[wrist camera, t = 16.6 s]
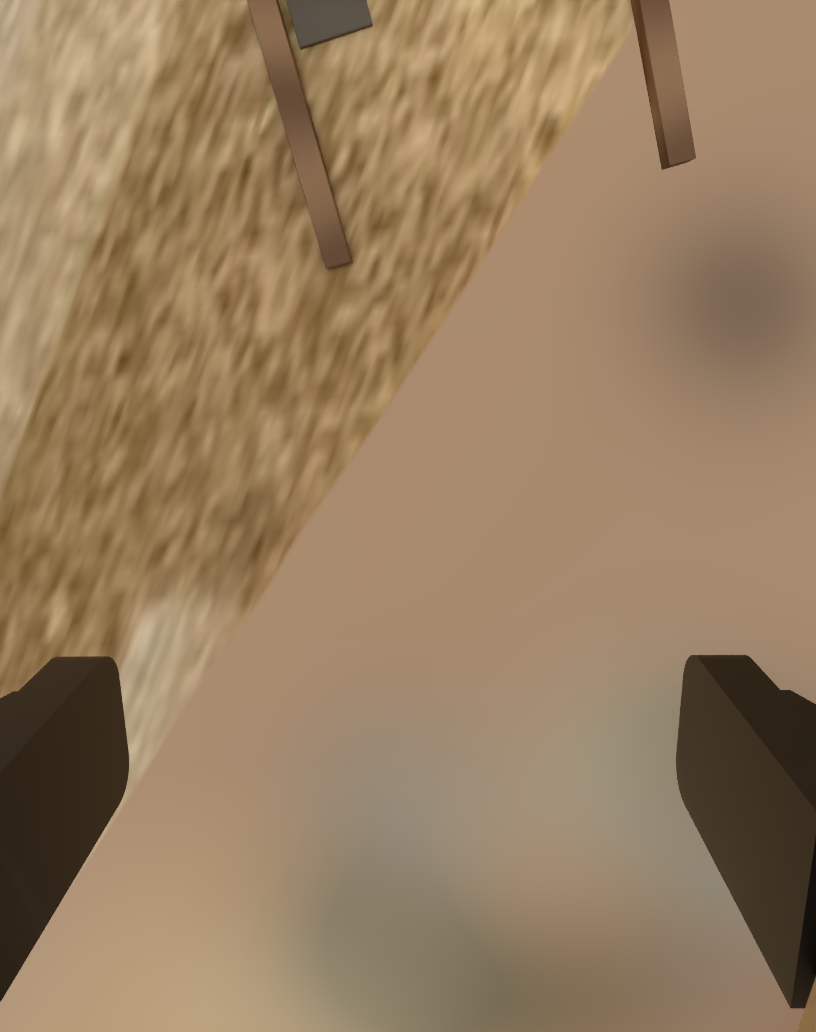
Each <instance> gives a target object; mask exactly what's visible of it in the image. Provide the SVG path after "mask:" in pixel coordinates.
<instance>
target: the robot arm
mask: <svg viewBox="0 0 816 1032" xmlns="http://www.w3.org/2000/svg"><path fill="white" fill-rule="evenodd" d="M676 770H677V779H678V785H679V789H680V793H681V797H682V800H683V802H684V804H685V806H686V808H687V810H688V812H689V814H690V816H691V818H692V820H693V822H694V824H695V826H696V827H697V829H698V831H699V833H700V835H701V837H702V839H703V841H704V843H705V845H706V847H707V849H708V851H709V852H710V854H711V856H712V858H713V860H714V862H715V864H716V866H717V868H718V870H719V872H720V873H721V876H722V877H723V879H724V881H725V883H726V885H727V887H728V888H729V891H730V893H731V895H732V896H733V898H734V900H735V902H736V904H737V906H738V908H739V910H740V912H741V914H742V916H743V918H744V920H745V922H746V923H747V925H748V927H749V929H750V931H751V933H752V935H753V937H754V939H755V941H756V943H757V945H758V946H759V948H760V950H761V952H762V954H763V956H764V958H765V960H766V962H767V964H768V966H769V967H770V970H771V972H772V973H773V975H774V977H775V979H776V981H777V983H778V985H779V987H780V989H781V991H782V993H783V994H784V997H785V998H786V1000H787V1002H788V1004H789V1006H790V1008H805V1010H804V1013H803V1016H802V1019H801V1022H800V1024H799V1027H798V1031H797V1032H816V704H814V703H812V702H810V701H809V700H807V699H805V698H803V697H802V696H800V695H798V694H796V693H794V692H793V691H791V690H780V689H779V688H778V687H777V686H776V685H775V684H774V683H773V682H772V680H771V679H770V678H769V677H768V676H767V675H766V674H765V673H764V672H763V671H762V670H761V669H760V667H759V666H758V665H757V664H756V663H755V662H754V661H753V660H752V659H751V658H750V657H749V656H747V655H691V656H690V657H689V658H688V660H687V661H686V665H685V668H684V674H683V686H682V696H681V707H680V719H679V730H678V742H677V753H676ZM128 772H129V753H128V744H127V736H126V728H125V720H124V711H123V703H122V695H121V687H120V679H119V672H118V668H117V665H116V663H115V661H114V660H113V659H112V658H111V657H55V658H53V659H51V660H50V661H49V662H48V663H47V664H46V665H45V666H44V667H43V668H42V669H41V670H40V671H39V672H38V673H37V674H36V675H35V676H34V677H33V678H32V679H30V680H29V681H28V682H27V683H26V684H25V685H24V686H23V687H22V688H21V689H20V690H19V691H13V692H12V693H10V694H8V695H6V696H4V697H2V698H0V1001H1V1000H2V999H3V997H4V995H5V994H6V992H7V990H8V988H9V987H10V985H11V984H12V982H13V980H14V979H15V977H16V975H17V974H18V972H19V970H20V969H21V967H22V965H23V964H24V962H25V960H26V959H27V957H28V955H29V954H30V952H31V950H32V949H33V947H34V945H35V944H36V942H37V940H38V939H39V937H40V935H41V934H42V932H43V930H44V929H45V927H46V925H47V924H48V922H49V920H50V919H51V917H52V915H53V914H54V912H55V910H56V909H57V907H58V905H59V904H60V902H61V900H62V899H63V897H64V895H65V894H66V892H67V890H68V889H69V887H70V885H71V884H72V882H73V880H74V879H75V877H76V876H77V874H78V872H79V871H80V869H81V867H82V866H83V864H84V862H85V861H86V859H87V857H88V856H89V854H90V852H91V851H92V849H93V847H94V846H95V844H96V842H97V841H98V839H99V837H100V836H101V834H102V832H103V831H104V829H105V827H106V826H107V824H108V822H109V821H110V819H111V817H112V816H113V814H114V812H115V811H116V809H117V807H118V806H119V804H120V802H121V800H122V798H123V795H124V792H125V789H126V785H127V780H128Z"/></svg>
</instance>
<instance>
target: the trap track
mask: <svg viewBox="0 0 816 1032" xmlns="http://www.w3.org/2000/svg"><path fill="white" fill-rule="evenodd" d="M247 1H248V4H249V8H250V11H251V15H252V18H253V21H254V25H255V28H256V32H257V35H258V38H259V42H260V45H261V49H262V52H263V55H264V59H265V62H266V65H267V69H268V72H269V76H270V79H271V82H272V86H273V89H274V93H275V96H276V99H277V103H278V106H279V110H280V113H281V116H282V120H283V123H284V126H285V130H286V133H287V137H288V140H289V143H290V147H291V150H292V154H293V157H294V160H295V164H296V167H297V171H298V174H299V177H300V181H301V184H302V188H303V191H304V194H305V198H306V201H307V204H308V208H309V211H310V215H311V218H312V221H313V225H314V228H315V232H316V235H317V238H318V242H319V245H320V249H321V252H322V255H323V259H324V262H325V266H326V268H327V269H332V268H335V267H339V266H342V265H345V264H349V263H352V258H351V255H350V251H349V248H348V244H347V241H346V237H345V234H344V230H343V227H342V223H341V220H340V216H339V213H338V209H337V206H336V202H335V199H334V195H333V192H332V188H331V185H330V181H329V178H328V174H327V171H326V167H325V164H324V160H323V157H322V153H321V150H320V146H319V143H318V139H317V136H316V132H315V129H314V125H313V122H312V118H311V115H310V111H309V108H308V104H307V101H306V97H305V94H304V90H303V87H302V83H301V80H300V76H299V73H298V69H297V66H296V62H295V59H294V55H293V52H292V48H291V45H290V41H289V38H288V34H287V31H286V27H285V24H284V20H283V17H282V13H281V10H280V6H279V3H278V0H247ZM287 3H288V7H289V10H290V14H291V18H292V21H293V25H294V28H295V32H296V35H297V39H298V42H299V46H300V48H301V49H303V48H307V47H310V46H313V45H316V44H319V43H322V42H325V41H328V40H331V39H334V38H337V37H340V36H343V35H346V34H349V33H353V32H356V31H359V30H362V29H365V28H368V27H371V26H372V22H371V18H370V14H369V11H368V7H367V3H366V0H287ZM631 3H632V9H633V14H634V20H635V25H636V30H637V36H638V41H639V47H640V52H641V58H642V63H643V69H644V74H645V79H646V85H647V91H648V96H649V102H650V107H651V113H652V118H653V123H654V129H655V135H656V140H657V145H658V150H659V156H660V162H661V167H662V170H663V169H666V168H670V167H673V166H676V165H680V164H683V163H687V162H689V161H691V160H693V159H694V158H696V155H695V150H694V144H693V138H692V132H691V126H690V120H689V115H688V108H687V103H686V97H685V91H684V85H683V80H682V74H681V68H680V62H679V56H678V50H677V44H676V39H675V33H674V27H673V21H672V15H671V10H670V4H669V0H631Z"/></svg>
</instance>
